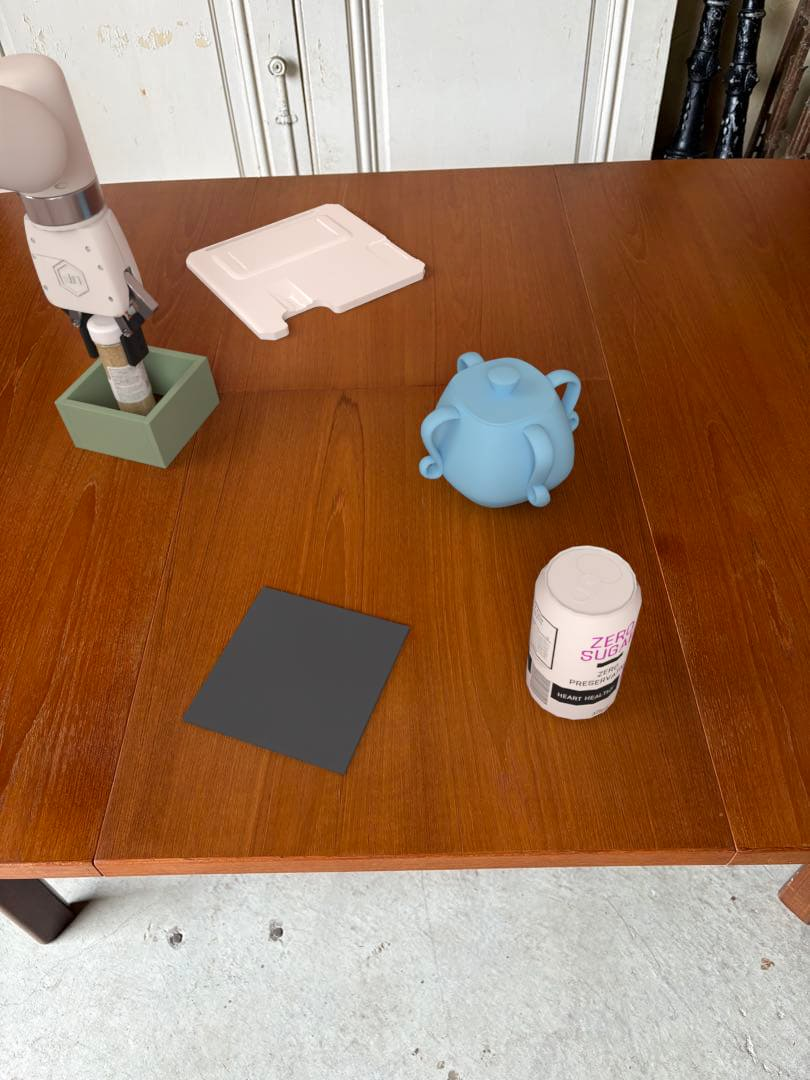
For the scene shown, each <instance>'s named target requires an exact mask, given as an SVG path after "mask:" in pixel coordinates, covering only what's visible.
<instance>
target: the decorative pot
mask: <svg viewBox="0 0 810 1080" xmlns="http://www.w3.org/2000/svg"><path fill="white" fill-rule="evenodd" d="M456 362H457V363H456V370H457V371H456V372H457V373H456V374H455V375H454V376H453V377H452V378H451V379H450V381H449V382H448V384H447V386H446V387H445V389H444V391H443V392H442V394H441V395H440V397H439V400H438V402H437V404H436V406H435V409H434V410H433V411H431V412H430V413H429V414H428V415H426V417H424V419H423V421H422V422H421V425H420V436H421V440H422V442H423V445H424V447H425V448H426V450H427V453H428V454H429V455H426V456H424V457H422V458H421V460H420V461H419V464H418V469H419V470H418V471H419V473H420V475H421V476H422V477H424V478H425V479H427V480H436V479H439V478H441V477H442V476H443V477H444V479H445V480H446V481H447V482H448V483H449V484H450V485H451V486H452V487H453V488H454V489H455V490H456V491H457V492H459V493H460V494H461V495H463V496H464V497H465V498H466V499H468V500H470V501H471V502H473V503H474V504H477V505H479V506H482V507H485V508H493V509H494V508H505V507H511V506H514V505H518V504H521V503H525V502H528V501H529V503H530V504H531V505H532V506H534V507H538V508H541V507H542V508H543V507H545V506H547V505H548V504H549V503H550V502H551V495H550V491H551V490H553V489H555V488H556V487H558V486H559V485H560V484H562V482H564V480H566V479H567V478H568V476H569V475H570V474H571V472H572V470H573V467H574V462H575V454H576V453H575V441H574V434H573V432H574V431H576V429H577V427H579V424H580V417H579V415H578V412H577V411H575V410H574V409H575V407H576V405H577V402H578V400H579V398H580V394H581V390H582V385H581V380H580V379H579V377H578V376H577V375H576V374H575V373H573V372H572V371H570V370H568V369H556V370H554V371H550V372H549V373H548V374H546V375H545V374H543V373H542V372H541V371H540V370H539V369H538V368H536V367H535V366H534V365H532V364H530V363H528V362H526V361H524V360H523V359H520V358H514V357H501V358H496V359H491V360H487V361H485V359H484V358H483V357H482V356H481V355H480V353H478V352H475V351H468V352H465V353H462V354H460V356H458V359H457V361H456ZM566 383H567V384H566ZM563 384H566V388H565V391H564V394H563V396H562V398H561V399H560V396H559V394H558V393H557V390H556V388H557V387H558V386H561V385H563Z"/></svg>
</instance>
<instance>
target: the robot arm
mask: <svg viewBox="0 0 810 1080" xmlns="http://www.w3.org/2000/svg"><path fill="white" fill-rule="evenodd" d="M0 190H6V191H11V192H15V193H16V195H17V196H19V197H20V199H21V203H22V205H23V207H24V210H25V212H26V213H25V214H24V216H23V224H24V230H25V236H26V240H27V245H28V249H29V252H30V255H31V259H32V262H33V265H34V269H35V271H36V275H37V277H38V280H39V282H40V284H41V287H42V288H41V291H42V294H43V295H44V296H45V297H46V299H47V301H48V302H49V303H50V304H52V305H53V306H55V307H57V308H59V309H60V310H61V311H62V312H64V313H65V315H67V316H68V317H69V319H70V323H71V324H72V325H73V326H74V327H75V328H79V329H78V331H79V333H80V336H81V338H82V341H83V344H84V346H85V348H86V351H87V354H88V356H89V358H90V359H96V360H97V359H98V358H99V357H100V355H99V352H98V349H97V347H96V344H95V343H94V341H93V340H92V339H91V336H90V334H89V331H88V328H87V322H88V320H89V319H90V318H91V317H92V316H93V315H101V316H106V317H113V318H114V319H115V321H116V323H117V325H118V326H119V328H120V330H121V332H122V333H123V334H122V335H121V336H120V341H121V344H122V347H123V350H124V353H125V355H126V358H127V361H128V364H129V365H130V366H133V367H136V366H137V365H138V364H139V363H140V362H141V361H142V360H143V359H144V358H145V357H146V356H147V355H148V353H149V349H148V346H149V345H148V344H147V339H146V337H145V334H144V331H143V328H142V326H143V325H144V324H146V323H145V322H146V321H147V320H148V319H149V318H150V317H152V316H154V314H155V313H156V312H157V311H158V310H159V309H160V306H159V303H158V302H157V301H156V300H155V299H154V298H153V297H152V296H151V295H150V293H148V291H147V290H146V289H145V287H144V285H143V280H142V277H141V274H140V270H139V268H138V265H137V262H136V260H135V257H134V255H133V252H132V250H131V247H130V244H129V242H128V239H127V238H126V236H125V234H124V231H123V229H122V227H121V225H120V223H119V221H118V219H117V217H116V216H115V214H114V212H113V210H112V208H109V207H108V205H107V202H106V200H105V199H106V198H105V195H104V193H103V189H102V187H101V183H100V180H99V177H98V174H97V171H96V168H95V165H94V161H93V158H92V156H91V152H90V149H89V147H88V143H87V141H86V138H85V135H84V131H83V128H82V125H81V121H80V119H79V115H78V113H77V110H76V105H75V103H74V100H73V97H72V94H71V91H70V88H69V85H68V81H67V79H66V75H65V73H64V71H63V69H62V68H61V66H60V65H59V64H58V62H57V61H55V59H53V58H51V57H50V56H48V55H45V54H41V53H34V52H33V53H30V52H26V53H25V52H24V53H23V52H22V53H15V54H8V55H3V56H1V57H0ZM126 312H127V313H128V315H129V320H127V318H126V317H125V315H124V314H125V313H126ZM147 345H148V346H147Z"/></svg>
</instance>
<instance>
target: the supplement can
mask: <svg viewBox="0 0 810 1080" xmlns="http://www.w3.org/2000/svg"><path fill="white" fill-rule="evenodd" d="M534 585H535V586H534V595H533V603H532V604H533V605H532V611H531V612H532V615H531V622H530V631H529V641H528V650H527V661H526V673H525V674H526V675H525V676H526V677H525V678H526V679H525V681H526V683H525V684H526V685H527V689H528V690H529V693H530V696H531V697H532V698H533V700H534V701H535V702H536V703H537V704H538V705H539V706H540V707H541V708H542V709H543V710H545V711H547V712H549V713H551V714H552V715H553V716H556V717H559V718H564V719H568V720H572V721H573V720H574V721H575V720H586V719H592V718H593V717H595V716H598V715H601V714H602V713H605V711H606V710H607V709H608V708H609V707H611V705H612V704H613V703H614V702H615V699H616V697H617V694H618V691H619V689H620V685H621V681H622V677H623V673H624V670H625V666H626V662H627V659H628V655H629V652H630V651H629V650H630V647H631V643H632V640H633V637H634V633H635V628H636V625H637V621H638V618H639V614H640V610H641V607H642V603H643V600H642V590H641V589H642V588H641V586H640V583H638V580H637V579H636V574H635V572H634V571H633V569H632V567H631V565H630V563H628V562H627V561H626V560H625V559H624V558H622V557H621V556H620V555H619V554H617V553H615V552H613V551H611V550H609V549H606V548H605V547H599V546H594V545H580V546H578V545H577V546H572V547H569V548H566V549H564V550H562V551H559V552H558V553H557V554H556V555H555V556H554V557H552V558H551V559H550V560H549V561H548V563H547V564H546V565H545V566H544V567H543V568H542V569H541V571H540V572H539V574H538V577H537V579H536V581H535V584H534Z"/></svg>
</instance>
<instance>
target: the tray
mask: <svg viewBox="0 0 810 1080" xmlns="http://www.w3.org/2000/svg"><path fill="white" fill-rule="evenodd" d="M185 264H186V267H187V269H189V270H190V271H191V272H192V273H193V275H195V276H196V277H197V279H199V280H200V281H201V282H202V283H203V284H204V286H205V287H207V288H208V289H209V290H210V291H211V292H212V293H213V294H214V295H215V297H217V298H218V299H219V300H220V301H221V302H222V303H223V304H224V305H225V306H226V307H227V308H228V309H229V310H230V311H231V312H232V313H233V314H234V315H235V316H236V317H238V319H239V320H240V321H241V322H242V323H243V324H244V325H246V327H247V328H248V329H249V330H251V332H252V333H254V334H255V335H256V337H257V338H259V339H260V340H265V341H277V340H280V339H283V338H284V337H287V336H288V335H289V334H290V330H289V325H288V322H285V321H286V320H287V319H289V318H292V317H294V316H297V315H299V314H302V313H304V312H306V311H308V310H311V309H313V308H318V307H324V308H325V307H326V308H328V309H330V310H331V311H332V312H333V313H335V314H342V313H344V312H347V311H349V310H351V309H354V308H356V307H359V306H361V305H363V304H366V303H368V302H371V301H373V300H376V299H378V298H380V297H383V296H385V295H387V294H391V293H392V292H394V291H398V290H400V289H402V288H405V287H407V286H409V285H412V284H414V283H417V282H419V281H422V280H423V279H424V276H425V273H426V269H425V267H426V264H425V263H424V262H423V261H421V260H420V259H418V258H417V259H416V257H413V256H412V255H410V254H409V253H407V252H406V251H405V250H403V249H402V248H400V247H399V246H397V245H396V244H394V243H393V241H392V242H391V240H389V239H388V238H387V236H385V235H384V234H382V233H381V232H379V231H378V229H376V228H374V227H372V226H371V225H370V224H368V223H367V222H366V221H364V220H362V219H361V218H360V217H358V216H357V215H355V214H354V213H352V212H351V211H349V210H348V209H347V208H345V207H344V206H342V205H341V204H339V203H325V204H322V205H319V206H317V207H314V208H310V209H308V210H306V211H303V212H300V213H297V214H294V215H292V216H289V217H286V218H284V219H280V220H278V221H274V222H272V223H270V224H266V225H264V226H261V227H259V228H256V229H252V230H250V231H248V232H245V233H242V234H239V235H236V236H233V237H231V238H228V239H225V240H222V241H219V242H217V243H214V244H212V245H209V246H205V247H203V248H199V249H197V250H195V251H192V252H190V253H189V254H188V255H187V257H186V260H185Z"/></svg>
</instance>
